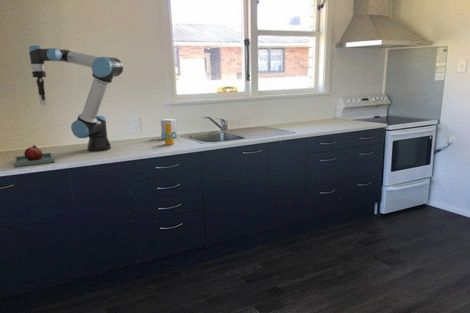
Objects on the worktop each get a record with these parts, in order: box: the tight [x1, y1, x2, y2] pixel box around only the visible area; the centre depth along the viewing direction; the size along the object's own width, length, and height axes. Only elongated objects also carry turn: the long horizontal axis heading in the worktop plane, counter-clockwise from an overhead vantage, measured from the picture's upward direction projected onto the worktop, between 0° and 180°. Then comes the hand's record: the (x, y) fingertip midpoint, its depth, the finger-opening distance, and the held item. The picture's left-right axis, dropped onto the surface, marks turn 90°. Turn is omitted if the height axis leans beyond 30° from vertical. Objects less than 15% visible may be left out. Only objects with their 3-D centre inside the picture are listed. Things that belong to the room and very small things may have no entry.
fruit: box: [23, 143, 44, 161], centre depth 218 cm, size 9×10×10 cm
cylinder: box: [160, 123, 178, 146], centre depth 263 cm, size 12×10×15 cm
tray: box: [13, 152, 55, 168], centre depth 219 cm, size 20×20×2 cm
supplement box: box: [160, 118, 178, 140], centre depth 288 cm, size 9×9×15 cm
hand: (43, 104), depth 239 cm, fingers open, 13 cm apart
